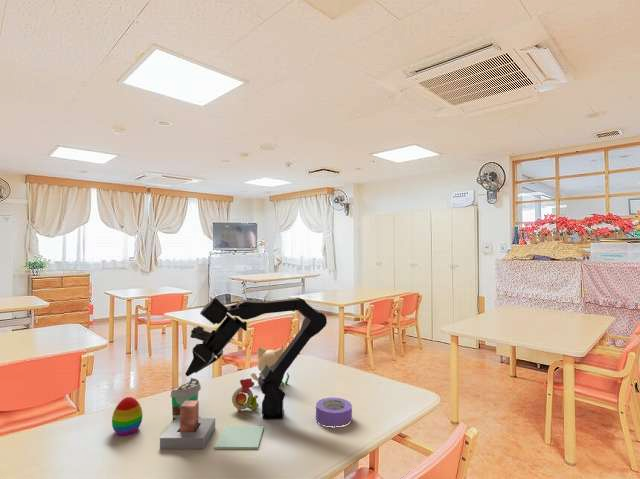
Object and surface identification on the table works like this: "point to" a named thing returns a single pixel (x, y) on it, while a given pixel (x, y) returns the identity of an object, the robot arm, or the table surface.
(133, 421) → the decorative egg
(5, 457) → the table surface
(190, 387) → the food container
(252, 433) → the board
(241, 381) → the bird rattle
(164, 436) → the pocket block
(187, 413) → the peg
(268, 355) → the kitten
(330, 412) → the tape roll
